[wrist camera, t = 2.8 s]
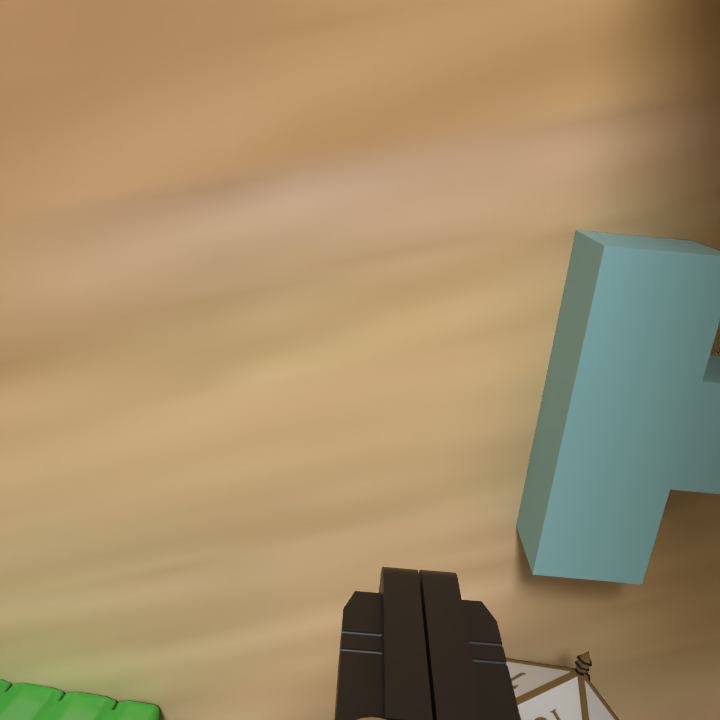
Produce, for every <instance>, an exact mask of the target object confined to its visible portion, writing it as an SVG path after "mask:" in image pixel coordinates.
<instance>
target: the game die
mask: <svg viewBox="0 0 720 720" xmlns="http://www.w3.org/2000/svg"><path fill="white" fill-rule="evenodd" d="M577 658H578V660H577V661H575V663H576V669H575V668H568V667H562V666H555V665H548V664H541V663H535V662H528V661H521V660H514V659H507V658H506V665H507V666H508V669H509V673H510V677H511V681H512V685H513V689H514V693H515V697H516V701H517V705H518V709H519V713H520V718H521V720H619V719H618V718H617V716H616V715H615V714H614V712H613V711H612V710H611V708H610V707H609V706H608V704H607V703H606V702H605V700H604V699H603V698H602V696H601V695H600V694H599V693H598V691H597V690H596V689H595V687H594V686H593V685H592V683H591V682H590V675H589V674H588V671H589V666H592V663H591V660H590V656H589V651H588V652H586V653H585V654H583V655H579V656H577Z"/></svg>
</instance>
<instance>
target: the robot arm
mask: <svg viewBox="0 0 720 720" xmlns="http://www.w3.org/2000/svg"><path fill="white" fill-rule="evenodd" d="M335 720H521V718H520V713H519V709H518V705H517V701H516V697H515V693H514V689H513V685H512V681H511V677H510V673H509V669H508V666H507V665H506V657H505V653H504V649H503V647H502V641H501V637H500V633H499V629H498V625H497V621H496V620H495V618H494V617H493V616H492V615H491V613H490V612H489V611H488V609H487V608H486V607H485V605H484V604H483V603H482V602H481V601H469V600H461V594H460V589H459V583H458V578H457V575H456V573H451V572H439V571H427V570H420V571H419V573H418V570H413V569H401V568H389V567H382V571H381V578H380V587H379V593H371V592H359V591H355V592H354V594H353V595H352V597H351V598H350V600H349V601H348V603H347V604H346V606H345V607H344V609H343V620H342V632H341V643H340V654H339V665H338V678H337V693H336V706H335Z"/></svg>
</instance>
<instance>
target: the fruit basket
mask: <svg viewBox="0 0 720 720" xmlns="http://www.w3.org/2000/svg"><path fill="white" fill-rule="evenodd" d="M159 714H160V711H159V707H158V706H157V705H153V704H147V703H141V702H135V701H120V702H118V703H117V702H116V701H115V700H113V699H110V698H108V697H105V696H99V695H93V694H88V693H81V692H68V693H66V694H64V692H63V691H60V690H58V689H55V688H51V687H45V686H39V685H34V684H28V683H17V684H14V685H12V684H11V683H10V682H7V681H5V680H2V679H0V720H159Z"/></svg>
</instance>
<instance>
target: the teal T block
mask: <svg viewBox="0 0 720 720" xmlns="http://www.w3.org/2000/svg"><path fill="white" fill-rule="evenodd" d="M719 322H720V251H719V250H716V249H714V248H711V247H708V246H705V245H703V244H700V243H697V242H695V241H691V240H680V239H669V238H658V237H647V236H635V235H624V234H613V233H602V232H591V231H580V230H576V232H575V237H574V242H573V247H572V252H571V257H570V262H569V267H568V272H567V277H566V282H565V287H564V292H563V297H562V302H561V307H560V312H559V317H558V322H557V326H556V331H555V336H554V341H553V346H552V351H551V356H550V361H549V366H548V371H547V376H546V381H545V386H544V391H543V396H542V401H541V406H540V411H539V416H538V421H537V426H536V431H535V436H534V441H533V446H532V450H531V455H530V460H529V465H528V470H527V475H526V480H525V485H524V490H523V495H522V500H521V505H520V510H519V515H518V520H517V525H516V526H517V529H518V532H519V535H520V538H521V541H522V544H523V547H524V550H525V553H526V556H527V559H528V562H529V565H530V568H531V571H532V574H533V575H543V576H554V577H565V578H576V579H587V580H598V581H609V582H620V583H631V584H643V580H644V577H645V573H646V570H647V567H648V563H649V560H650V557H651V553H652V550H653V546H654V543H655V540H656V536H657V533H658V529H659V526H660V523H661V519H662V516H663V512H664V509H665V506H666V502H667V499H668V495H669V492H670V490H679V491H690V492H701V493H713V494H720V356H719V355H710V353H711V350H712V346H713V343H714V339H715V336H716V333H717V329H718V326H719Z"/></svg>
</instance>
